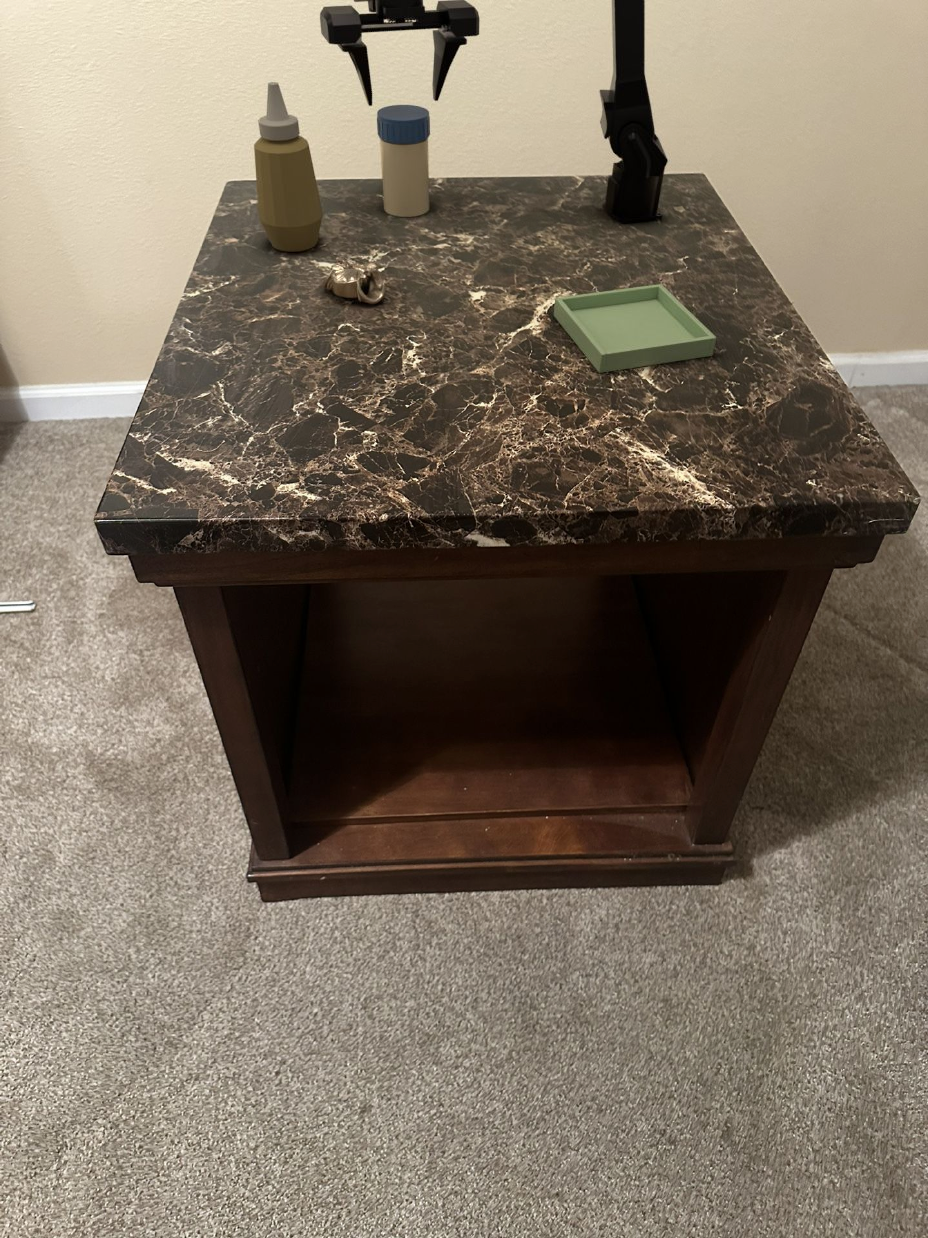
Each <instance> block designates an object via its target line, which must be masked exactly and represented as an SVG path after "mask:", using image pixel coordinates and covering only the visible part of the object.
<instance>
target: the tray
mask: <svg viewBox="0 0 928 1238" xmlns="http://www.w3.org/2000/svg"><path fill="white" fill-rule="evenodd" d="M553 309H554V310H553V317H554V318H555V319H556V320H557V322H558V323H559V325H561V327H562V328H563V329H564V331H565V332H566V333H567V334H568V336H569V337H570V338H571V340H572V341H573V342H574V344H576V345H577V347H578V349H579V350H580V351H581V352H582V353H583V354H584V356H585V357H586V359H587V360H588V361H589V362H590V363H591V365H592V367H594V369H595V370H596V372H598V373H599V374H601V373H608V372H614V371H621V370H628V369H634V368H641V367H647V366H654V365H660V364H667V363H674V362H680V361H687V360H693V359H700V358H706V357H712V356H713V354H714V350H715V347H716V346H715V345H716V341H717V336H716V335H714V333H713V332H711V331H710V330H709V328H707V327H706V326H705V325H704V323H702V322H701V321H700V320H699V319H698V318H697V317H696V316H695V315H694V314H693V313H692V312H691V311H690V310H688V308H687V307H686V306H685V305H684V304H682V302H680V300H678V298H676V297H675V296H674V295H673V294H672V293H671V291H669V290H668V289H667V288H666V287H665V286H664V285H663V284H662V283H659V284H651V285H643V286H636V287H628V288H620V289H613V290H604V291H597V292H590V293H581V294H574V295H567V296H559V297H555V298H554V308H553Z"/></svg>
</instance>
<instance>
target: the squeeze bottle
mask: <svg viewBox="0 0 928 1238" xmlns="http://www.w3.org/2000/svg"><path fill="white" fill-rule="evenodd" d="M266 96H267V98H266V115H263V116H262V117H261V116H260V117H259V119H258V120H257V122H258V128H259V129H258V130H259V135H260V137H259V138H258V139H257V140H256V142H255V143H254V144H253V149H254V150H253V151H254V166H255V178H256V180H255V181H256V196H257V211H258V219H259V221H260V224H261V226H262V228H263V230H264V233H265V234H266V237H267V238H268V240H269V241H270V244H271V246H272V248H274V249H276V250H279V251H282V252H290V253H293V252H303V251H306V250H311V249H312V248H313V247H315V246H316V245H317V243H318V241H319V237H320V236H319V235H320V231H321V226H322V221H323V216H324V212H323V208H322V203H321V199H320V193H319V188H318V183H317V179H316V173H315V168H314V164H313V158H312V154H311V149H310V144H309V142H308V140H307V139H305V138H304V137H303V136H301V135H300V133H301V131H300V124H299V119H298V117H297V116H295V115H293V114H289V113H288V109H287V107H286V103H285V100H284V97H283V93H282V91H281V87H280V85H279V82H276V81H271V82H268V83H267V95H266Z"/></svg>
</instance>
